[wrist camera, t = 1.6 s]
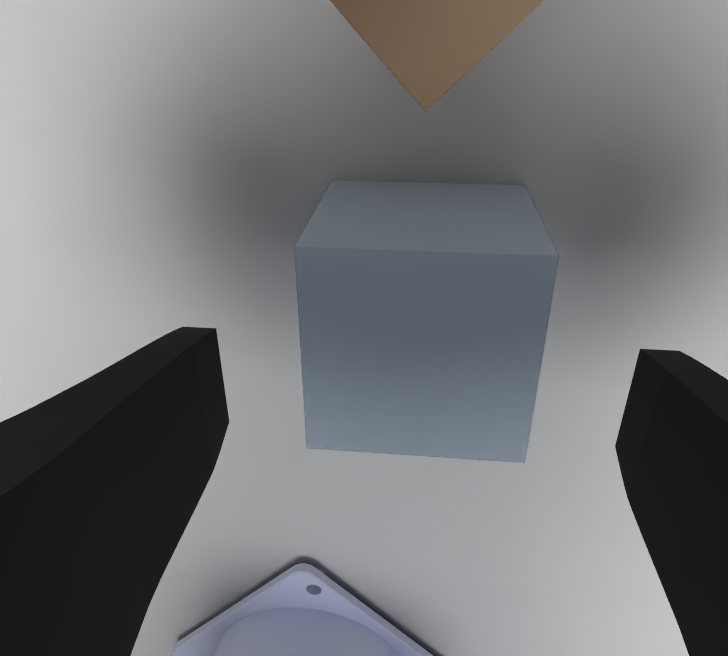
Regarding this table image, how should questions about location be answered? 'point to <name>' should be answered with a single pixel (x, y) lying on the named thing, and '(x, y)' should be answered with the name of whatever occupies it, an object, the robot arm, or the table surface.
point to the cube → (423, 318)
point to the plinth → (432, 37)
